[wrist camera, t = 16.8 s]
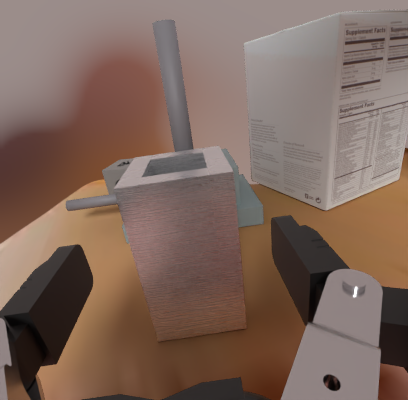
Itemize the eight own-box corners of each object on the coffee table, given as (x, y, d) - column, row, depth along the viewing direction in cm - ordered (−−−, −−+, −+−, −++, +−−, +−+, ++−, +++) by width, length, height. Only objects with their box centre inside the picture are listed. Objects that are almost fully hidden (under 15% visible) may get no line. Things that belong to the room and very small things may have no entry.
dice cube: (127, 190, 41) (119, 159, 39) (157, 188, 40) (150, 157, 38) (112, 204, 37) (101, 170, 35) (144, 203, 36) (136, 168, 34)
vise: (243, 188, 36) (232, 23, 28) (263, 223, 26) (255, -6, 19) (91, 209, 35) (36, 51, 28) (58, 253, 26) (-37, 34, 18)
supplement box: (403, 180, 32) (437, 6, 24) (325, 213, 27) (341, 9, 20) (314, 159, 43) (321, 36, 36) (249, 180, 38) (240, 42, 31)
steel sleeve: (231, 270, 21) (218, 145, 17) (246, 328, 16) (233, 171, 12) (164, 280, 21) (134, 157, 16) (158, 341, 16) (113, 188, 12)
